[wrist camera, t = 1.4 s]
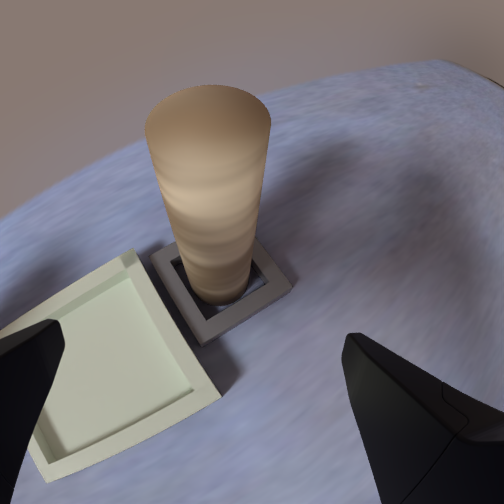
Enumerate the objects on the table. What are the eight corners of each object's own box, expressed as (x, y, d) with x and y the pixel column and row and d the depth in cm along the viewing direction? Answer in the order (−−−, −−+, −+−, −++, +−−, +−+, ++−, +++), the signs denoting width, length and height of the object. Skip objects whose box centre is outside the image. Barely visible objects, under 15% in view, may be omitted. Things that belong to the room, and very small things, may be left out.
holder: (290, 292, 24) (292, 286, 23) (202, 347, 21) (200, 344, 20) (234, 217, 26) (234, 209, 25) (152, 263, 24) (148, 256, 23)
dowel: (259, 286, 24) (296, 134, 10) (209, 317, 22) (177, 188, 9) (228, 241, 25) (228, 74, 12) (179, 269, 24) (128, 112, 10)
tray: (222, 396, 20) (221, 397, 18) (60, 478, 16) (46, 483, 14) (140, 260, 24) (133, 247, 22) (2, 345, 20) (-13, 339, 18)
